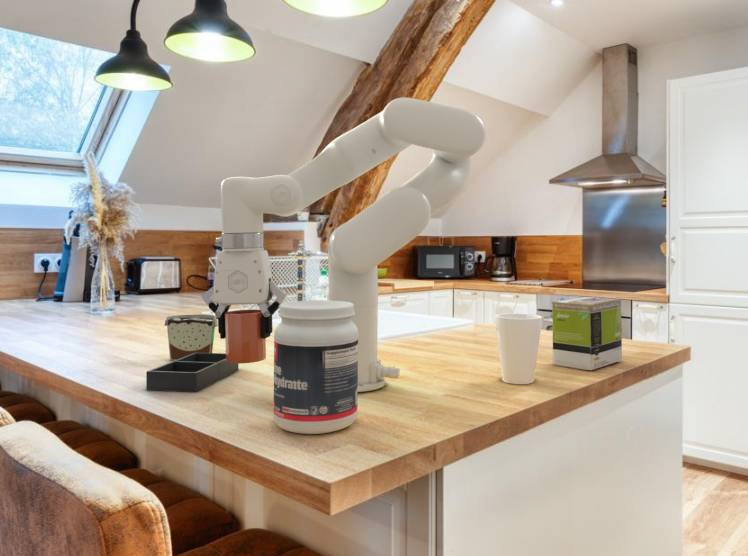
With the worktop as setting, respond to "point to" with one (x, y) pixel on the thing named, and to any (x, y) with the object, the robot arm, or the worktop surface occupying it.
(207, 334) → the food container
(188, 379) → the holder
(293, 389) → the supplement tub
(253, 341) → the cup
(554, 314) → the tea box
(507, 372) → the foam cup
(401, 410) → the worktop surface
